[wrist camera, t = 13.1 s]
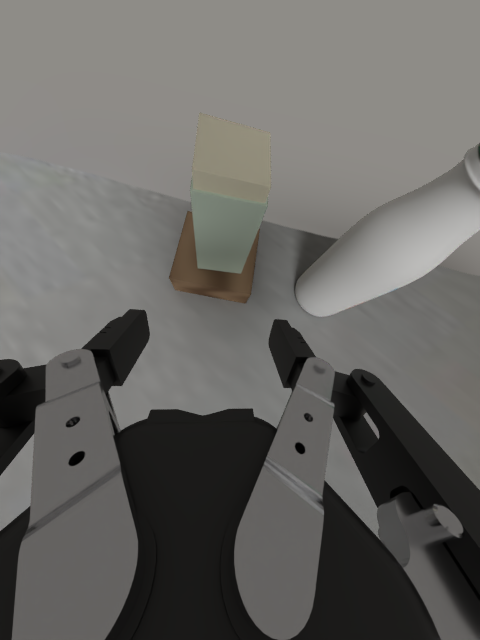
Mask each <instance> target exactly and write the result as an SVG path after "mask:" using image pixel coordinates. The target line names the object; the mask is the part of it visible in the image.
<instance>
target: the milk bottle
mask: <svg viewBox="0 0 480 640" xmlns="http://www.w3.org/2000/svg"><path fill="white" fill-rule="evenodd" d="M479 230H480V143H479V144H478V145H476V146H475V147H473V148H471V149H470V150H468V151H467V152H466V154H465V156H464V159H463V160H462V161H461V162H460V163H459V164H457V165H456V166H455V167H454V168H452V169H451V170H449V171H448V172H447V173H445V174H443V175H442V176H440V177H438V178H436V179H435V180H433V181H431V182H430V183H428V184H426V185H424V186H422V187H420V188H418V189H416V190H414V191H412V192H410V193H407V194H405V195H403V196H401V197H398V198H396V199H394V200H392V201H390V202H388V203H386V204H383V205H382V206H380V207H378V208H376V209H375V210H373V211H372V212H370V213H369V214H367V215H366V216H365V217H364V218H362V219H361V220H360V221H358V222H357V223H356V224H355V225H354V226H353V227H351V228H350V229H349V230H348V231H347V232H346V233H345V234H344V235H343V236H342V237H340V238H339V239H338V240H337V241H336V242H335V243H334V244H333V245H332V246H331V247H330V248H329V249H328V250H327V251H326V252H325V253H324V254H323V255H322V256H320V257H319V258H318V259H317V260H316V261H315V262H314V263H313V264H312V265H311V266H310V267H309V268H308V269H307V270H306V271H305V272H304V273H303V274H302V275H301V276H300V277H299V279H298V280H297V283H296V287H295V295H296V299H297V301H298V303H299V305H300V306H301V307H302V308H303V309H304V310H305V311H306V312H308V313H309V314H312V315H314V316H318V317H326V316H330V315H333V314H335V313H338V312H340V311H343V310H346V309H348V308H351V307H353V306H356V305H358V304H361V303H364V302H366V301H369V300H371V299H374V298H376V297H379V296H381V295H384V294H386V293H388V292H391V291H393V290H395V289H398V288H400V287H402V286H405V285H407V284H409V283H411V282H413V281H415V280H417V279H418V278H420V277H422V276H424V275H425V274H427V273H428V272H430V271H431V270H432V269H434V268H435V267H436V266H438V265H439V264H440V263H441V262H442V261H444V260H445V259H446V258H447V257H448V256H449V255H450V254H451V253H452V252H453V251H454V250H456V249H457V248H458V247H459V246H460V245H461V244H462V243H464V242H465V241H466V240H467V239H468V238H470V237H471V236H472V235H474V234H475V233H476V232H478V231H479Z"/></svg>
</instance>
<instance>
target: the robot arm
mask: <svg viewBox="0 0 480 640" xmlns="http://www.w3.org/2000/svg"><path fill="white" fill-rule="evenodd" d="M149 336H150V332H149V326H148V320H147V314H146V311H145V310H135V309H130V310H128V311H127V312H126V313H125V314H124V315H123V316H122V317H118V318H116V319H114V320H112V321H110V322H109V323H108V324H107V325H106V326H105V328H103V329H102V330H101V331H100V333H98V334H97V335H95V336H94V337H93V338H92V339H91V340H90V341H89V342H88V343H87V344H86V345H85V346H84V347H83V348H82V349H76V350H71V351H67V352H65V353H62V354H60V355H58V356H56V357H54V358H53V359H52V360H50V361H49V363H48V364H47V365H41V366H35V367H29V368H22V366H21V365H20V363H19V362H18V361H16V360H12V359H4V360H0V475H1V474H2V473H3V471H4V470H5V469H6V468H7V466H8V465H9V464H10V463H11V461H12V460H13V459H14V458H15V456H16V455H17V454H18V453H19V452H20V450H21V449H22V448H23V447H24V445H25V444H26V443H27V442H28V440H29V439H30V438H31V437H32V435H33V434H34V452H33V471H32V489H31V506H30V507H29V508H27V509H26V510H25V511H24V512H23V513H21V514H20V515H19V516H18V517H17V518H15V519H14V520H13V521H12V522H11V523H10V524H8V525H7V526H6V527H5V528H4V529H2V530H1V531H0V640H480V490H479V489H478V488H477V487H476V486H475V485H474V484H473V483H472V481H471V480H470V479H469V478H468V477H467V476H466V475H465V474H464V473H463V471H462V470H461V469H460V468H459V467H458V466H457V465H456V464H455V463H454V461H453V460H452V459H451V458H450V457H449V456H448V455H447V454H446V453H445V451H444V450H443V449H442V448H441V447H440V446H439V445H438V444H437V443H436V441H435V440H434V439H433V438H432V437H431V436H430V435H429V434H428V433H427V431H426V430H425V429H424V428H423V427H422V426H421V425H420V424H419V423H418V421H417V420H416V419H415V418H414V417H413V416H412V415H411V414H410V413H409V411H408V410H407V409H406V408H405V407H404V406H403V405H402V404H401V403H400V401H399V400H398V399H397V398H396V397H395V396H394V395H393V394H392V393H391V391H390V390H389V389H388V388H387V387H386V386H385V385H384V384H383V383H382V381H381V380H380V379H379V378H377V377H376V376H375V375H373V374H372V373H370V372H367V371H365V370H361V369H355V370H353V371H352V372H351V374H350V375H346V374H343V373H339V372H335V371H334V369H333V367H332V366H331V365H330V364H329V363H328V362H326V361H324V360H322V359H320V358H316V356H315V355H314V353H313V352H312V350H311V349H310V347H309V346H308V344H307V343H306V341H305V340H304V339H303V337H302V335H301V334H300V332H298V331H297V330H296V329H295V328H291V326H290V324H289V323H288V321H287V320H279V319H275V320H274V322H273V325H272V329H271V333H270V337H269V348H270V351H271V354H272V356H273V359H274V362H275V365H276V368H277V370H278V373H279V376H280V379H281V382H282V384H283V387H284V388H291V389H292V393H291V396H290V398H289V400H288V403H287V405H286V408H285V410H284V412H283V415H282V417H281V419H280V422H279V424H278V426H277V429H276V428H275V427H274V426H272V425H271V424H269V423H268V422H266V421H264V420H262V419H260V418H257V417H254V414H253V409H227V410H223V411H220V412H216V413H212V414H209V415H204V416H202V415H197V414H194V413H190V412H186V411H182V410H178V409H171V410H151V411H150V413H149V416H148V419H144V420H142V421H139V422H136V423H134V424H132V425H130V426H128V427H126V428H125V429H123V430H120V427H119V424H118V421H117V418H116V414H115V411H114V408H113V404H112V401H111V398H110V395H109V392H108V391H109V389H110V388H111V386H122V385H123V383H124V381H125V380H126V378H127V376H128V375H129V373H130V371H131V370H132V368H133V366H134V364H135V363H136V361H137V359H138V358H139V356H140V354H141V353H142V351H143V349H144V348H145V346H146V344H147V342H148V340H149ZM366 412H367V413H368V415H369V416H370V418H371V419H372V421H373V422H374V424H375V425H376V427H377V428H378V431H379V439H378V438H377V436H376V435H375V433H374V432H373V430H372V429H371V427H370V426H369V424H368V423H367V421H366V419H365V418H364V416H363V415H364V414H365V413H366ZM333 419H334V421H335V423H336V425H337V427H338V429H339V431H340V433H341V435H342V437H343V439H344V441H345V443H346V445H347V447H348V449H349V451H350V453H351V455H352V457H353V459H354V461H355V463H356V465H357V467H358V469H359V471H360V473H361V475H362V477H363V479H364V481H365V483H366V485H367V487H368V489H369V492H370V494H371V496H372V498H373V500H374V502H375V504H376V506H377V508H378V510H377V519H378V524H379V529H378V535H379V538H380V540H379V538H378V537H377V536H376V535H375V534H374V533H373V532H372V531H371V530H370V529H369V528H368V527H367V526H366V524H365V523H364V522H363V521H362V520H361V519H360V518H359V517H358V516H357V515H356V514H355V513H354V512H353V510H352V509H351V508H350V507H349V506H348V505H347V504H346V503H345V502H344V501H343V500H342V499H341V497H340V496H339V495H338V494H337V493H336V492H335V491H334V490H333V489H332V488H331V487H330V486H329V485H328V483H327V482H326V481H325V480H324V479H325V472H326V465H327V457H328V450H329V443H330V435H331V428H332V421H333Z"/></svg>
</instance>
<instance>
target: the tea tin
mask: <svg viewBox="0 0 480 640" xmlns="http://www.w3.org/2000/svg"><path fill="white" fill-rule="evenodd" d="M270 149H271V146H270V132H266V131H262V130H259V129H256V128H252V127H248V126H245V125H242V124H238V123H234V122H231V121H227V120H224V119H220V118H217V117H213V116H210V115H206V114H202V113H199V120H198V127H197V135H196V144H195V152H194V158H193V166H192V180H191V188H190V194H191V205H192V215H193V225H194V235H195V246H196V256H197V266H198V268H199V269H207V270H215V271H223V272H231V273H239V274H241V272H242V270H243V267H244V265H245V262H246V260H247V257H248V255H249V252H250V250H251V247H252V244H253V242H254V239H255V237H256V234H257V232H258V229H259V227H260V224H261V222H262V219H263V217H264V214H265V212H266V209H267V207H268V194H269V191H270V189H271V153H270V152H271V150H270Z"/></svg>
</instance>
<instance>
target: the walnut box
mask: <svg viewBox="0 0 480 640" xmlns="http://www.w3.org/2000/svg"><path fill="white" fill-rule="evenodd" d="M259 231H260V229H258V232H257V234H256V237H255V239H254V242H253V244H252V247H251V250H250V252H249V255H248V257H247V260H246V262H245V265H244V267H243V270H242V272H241V274H239V273H231V272H223V271H215V270H207V269H199V268H198V266H197V256H196V246H195V235H194V225H193V215H192V212H190V211H188V212H187V215H186V219H185V222H184V226H183V230H182V233H181V237H180V240H179V244H178V248H177V251H176V255H175V258H174V262H173V266H172V269H171V273H170V276H169V279H170V281H171V282H172V284H173V286H174V288H175V290H178V291H183V292H188V293H193V294H199V295H204V296H209V297H214V298H220V299H225V300H230V301H235V302H240V303H246V302H247V300H248V298H249V297H250V295H251V289H252V282H253V275H254V267H255V260H256V253H257V245H258V238H259Z"/></svg>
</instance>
